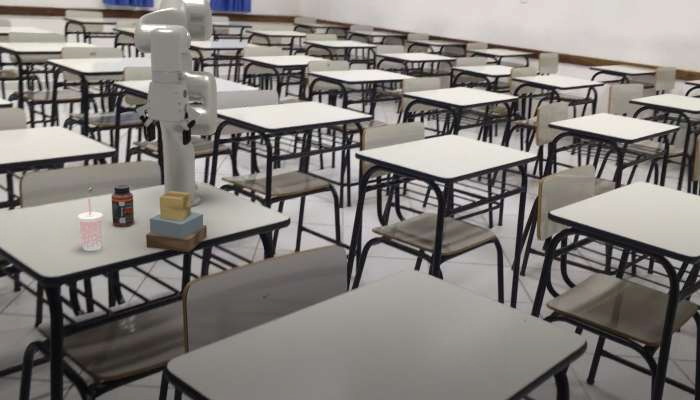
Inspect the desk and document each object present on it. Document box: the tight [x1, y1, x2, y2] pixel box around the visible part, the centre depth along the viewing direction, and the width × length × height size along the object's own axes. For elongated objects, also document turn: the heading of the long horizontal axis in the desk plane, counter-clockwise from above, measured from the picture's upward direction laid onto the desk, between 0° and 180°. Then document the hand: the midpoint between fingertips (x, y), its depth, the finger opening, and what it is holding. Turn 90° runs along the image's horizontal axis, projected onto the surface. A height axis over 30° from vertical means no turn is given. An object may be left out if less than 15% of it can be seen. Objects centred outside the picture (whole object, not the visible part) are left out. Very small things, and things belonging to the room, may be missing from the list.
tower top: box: [149, 211, 204, 239], centre depth 188 cm, size 10×10×4 cm
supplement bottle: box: [111, 184, 135, 227], centre depth 200 cm, size 6×6×11 cm
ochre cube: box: [159, 191, 192, 221], centre depth 186 cm, size 6×6×6 cm
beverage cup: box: [77, 196, 104, 252], centre depth 180 cm, size 6×6×14 cm
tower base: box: [145, 224, 208, 253], centre depth 189 cm, size 12×12×4 cm
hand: (169, 142), depth 183 cm, fingers open, 9 cm apart
